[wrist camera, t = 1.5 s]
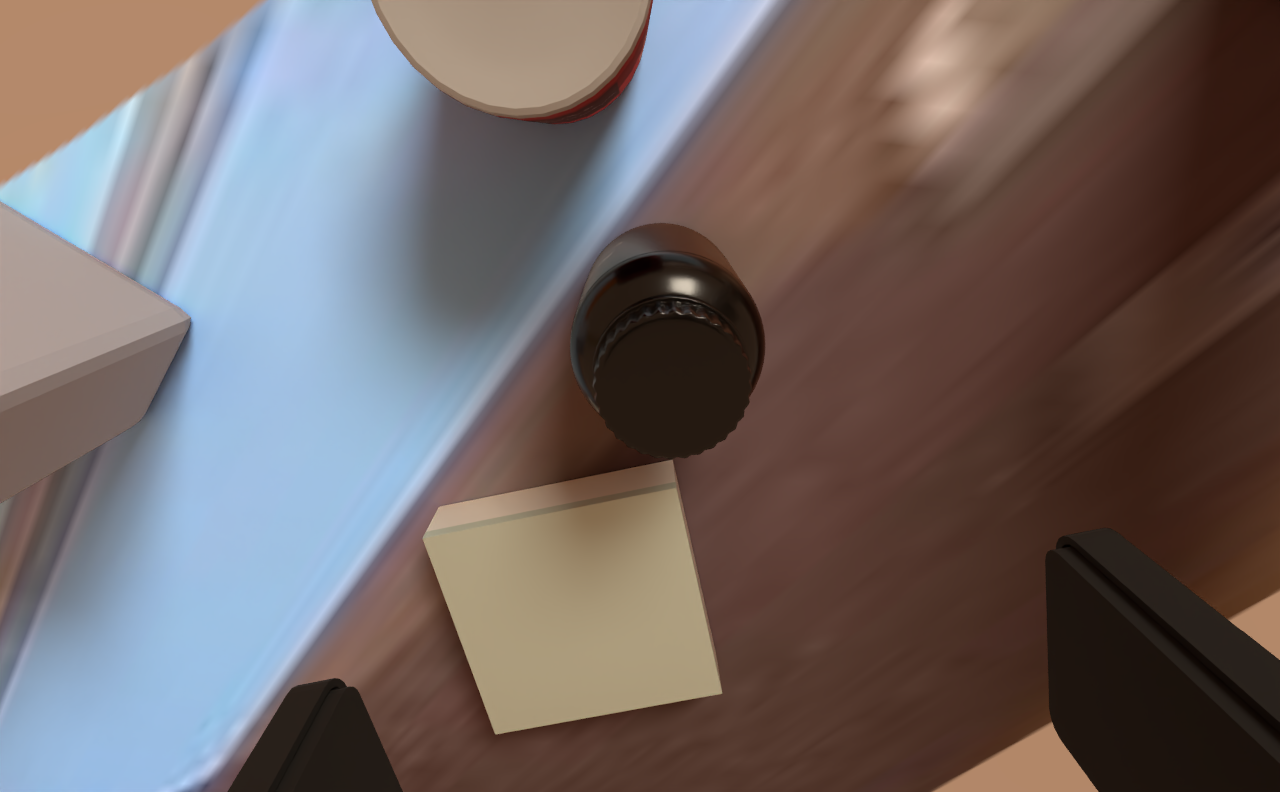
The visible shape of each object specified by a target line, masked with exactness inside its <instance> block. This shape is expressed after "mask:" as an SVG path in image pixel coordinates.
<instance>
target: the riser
mask: <svg viewBox="0 0 1280 792" xmlns="http://www.w3.org/2000/svg"><path fill="white" fill-rule="evenodd" d="M423 541H424V544H425V546H426V549H427V552H428V554H429V557H430V560H431V563H432V565H433V568H434V571H435V573H436V576H437V579H438V581H439V584H440V587H441V589H442V592H443V595H444V598H445V600H446V603H447V606H448V608H449V611H450V614H451V616H452V619H453V622H454V625H455V627H456V630H457V633H458V635H459V638H460V641H461V643H462V646H463V649H464V651H465V654H466V657H467V660H468V662H469V665H470V668H471V670H472V673H473V676H474V678H475V681H476V684H477V686H478V689H479V692H480V695H481V697H482V700H483V703H484V705H485V708H486V711H487V713H488V716H489V719H490V722H491V724H492V727H493V730H494V732H495V734H501V733H506V732H512V731H518V730H523V729H529V728H534V727H540V726H545V725H551V724H556V723H562V722H567V721H573V720H578V719H584V718H590V717H595V716H601V715H606V714H612V713H617V712H623V711H628V710H634V709H639V708H645V707H650V706H656V705H661V704H667V703H673V702H678V701H684V700H689V699H695V698H700V697H706V696H711V695H717V694H722V688H721V682H720V676H719V670H718V664H717V658H716V652H715V648H714V643H713V639H712V634H711V630H710V625H709V621H708V616H707V612H706V607H705V603H704V598H703V594H702V589H701V585H700V580H699V576H698V571H697V567H696V562H695V558H694V553H693V549H692V544H691V540H690V535H689V531H688V526H687V522H686V517H685V513H684V508H683V504H682V499H681V495H680V490H679V486H678V481H677V477H676V472H675V468H674V463H673V460H668V461H663V462H658V463H653V464H648V465H643V466H638V467H633V468H629V469H624V470H619V471H614V472H609V473H604V474H599V475H594V476H589V477H584V478H579V479H574V480H569V481H564V482H559V483H554V484H549V485H544V486H540V487H535V488H530V489H525V490H520V491H515V492H510V493H505V494H500V495H495V496H490V497H485V498H480V499H475V500H470V501H465V502H460V503H455V504H451V505H446V506H441V507H439V508H438V510H437V512H436V514H435V515H434V517H433V519H432V521H431V523H430V525H429V527H428V529H427V531H426V533H425V535H424V537H423Z"/></svg>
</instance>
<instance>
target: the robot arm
mask: <svg viewBox="0 0 1280 792" xmlns="http://www.w3.org/2000/svg"><path fill="white" fill-rule="evenodd" d="M1045 566H1046V603H1047V639H1048V675H1049V709H1050V715H1051V719H1052V722H1053V725H1054V728H1055V730H1056V732H1057V734H1058V736H1059V738H1060V739H1061V741H1062V742H1063V743H1064V745H1065V746H1066V748H1067V749H1068V750H1069V752H1070V753H1071V754H1072V756H1073V757H1074V759H1075V760H1076V761H1077V763H1078V764H1079V766H1080V767H1081V768H1082V770H1083V771H1084V772H1085V774H1086V775H1087V776H1088V778H1089V779H1090V781H1091V782H1092V783H1093V785H1094V786H1095V787H1096V789H1097V790H1098V791H1099V792H1280V660H1279V659H1278V658H1276V657H1275V656H1274V655H1272V654H1271V653H1270V652H1269V651H1267V650H1266V649H1265V648H1264V647H1262V646H1261V645H1260V644H1259V643H1257V642H1256V641H1255V640H1253V639H1252V638H1251V637H1250V636H1248V635H1247V634H1246V633H1245V632H1243V631H1242V630H1240V629H1239V628H1237V627H1236V626H1235V625H1234V624H1232V623H1231V622H1230V621H1229V620H1227V619H1226V618H1225V617H1224V616H1222V615H1221V614H1220V613H1218V612H1217V611H1216V610H1215V609H1213V608H1212V607H1211V606H1210V605H1208V604H1207V603H1206V602H1205V601H1203V600H1202V599H1201V598H1199V597H1198V596H1197V595H1196V594H1194V593H1193V592H1192V591H1191V590H1189V589H1188V588H1187V587H1186V586H1184V585H1183V584H1182V583H1181V582H1179V581H1178V580H1177V579H1175V578H1174V577H1173V576H1172V575H1170V574H1169V573H1168V572H1167V571H1165V570H1164V569H1163V568H1162V567H1160V566H1159V565H1158V564H1156V563H1155V562H1154V561H1153V560H1151V559H1150V558H1149V557H1148V556H1146V555H1145V554H1144V553H1143V552H1141V551H1140V550H1139V549H1138V548H1136V547H1135V546H1134V545H1132V544H1131V543H1130V542H1129V541H1127V540H1126V539H1125V538H1124V537H1122V536H1121V535H1120V534H1119V533H1117V532H1116V531H1114V530H1112V529H1110V528H1102V529H1096V530H1091V531H1086V532H1081V533H1076V534H1071V535H1066V536H1062V537H1061V538H1059V539H1058V542H1057V544H1056V549H1055V550H1050V551H1048V552H1047V554H1046V560H1045ZM228 792H403V791H402V789H401V787H400V784H399V782H398V780H397V778H396V775H395V773H394V771H393V769H392V766H391V764H390V762H389V759H388V757H387V755H386V753H385V750H384V748H383V746H382V744H381V741H380V739H379V737H378V734H377V732H376V730H375V728H374V725H373V723H372V721H371V719H370V716H369V714H368V712H367V710H366V707H365V705H364V703H363V700H362V698H361V696H360V694H359V692H358V690H357V689H356V688H354V687H347V686H346V685H345V683H344V682H343V681H342V680H340V679H336V678H334V679H328V680H323V681H318V682H313V683H308V684H303V685H298V686H296V687H294V688H292V689H291V690H290V691H289V693H288V694H287V695H286V697H285V699H284V700H283V702H282V703H281V705H280V707H279V708H278V710H277V712H276V713H275V715H274V717H273V718H272V720H271V721H270V723H269V725H268V726H267V728H266V730H265V731H264V733H263V735H262V736H261V738H260V739H259V741H258V743H257V744H256V746H255V748H254V749H253V751H252V753H251V754H250V756H249V757H248V759H247V761H246V762H245V764H244V766H243V767H242V769H241V771H240V772H239V774H238V775H237V777H236V779H235V780H234V782H233V784H232V785H231V787H230V789H229V790H228Z"/></svg>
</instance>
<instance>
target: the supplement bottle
mask: <svg viewBox="0 0 1280 792" xmlns="http://www.w3.org/2000/svg"><path fill="white" fill-rule="evenodd" d="M570 355H571V363H572V369H573V372H574V376H575V379H576V381H577V384H578V386H579V388H580V390H581V392H582V394H583V395H584V397H585V398H586V400H587V401H588V403H589V404H590V405H591V406H592V408H593V409H594V410H595V411H596V412H597V413H598V414H599V415H600V416H601V417H602V418H603V419H604V420H605V423H606V426H607V428H608V429H610V430H611V431H613V432H614V434H615V436H616V438H617V439H619V440H622V441H624V443H625V444H626V445H627V446H628V447H629V448H634V449H636V450H637V451H638V452H640V453H641V454H650V455H651V456H653V457H655V458H659V457H665V458H668V459H673V458H676V457H680V458H686V457H689V456H690V455H698V454H701V453H702V452H703V451H704V450H707V449H712V448H714V447H715V446H716V444H717V443H718V442H721V441H723V440H725V439H726V437H727V435H728V434H729V433H730V432H732V431H733V430H735V429H736V426H737V423H738V421H740V420H741V419H742V418H743V417H744V409H745V408H746V407H747V406H748V404H749V397H750V395H751V394H752V392H753V390H754V389H755V386H756V384H757V382H758V380H759V377H760V374H761V371H762V367H763V363H764V356H765V334H764V329H763V324H762V320H761V317H760V314H759V312H758V309H757V307H756V304H755V302H754V300H753V299H752V297H751V295H750V293H749V292H748V290H747V289H746V287H745V286H744V284H743V283H742V281H741V280H740V278H739V277H738V275H737V274H736V272H735V271H734V269H733V268H732V266H731V265H730V263H729V262H728V260H727V259H726V258H725V256H724V255H723V254H722V252H721V251H720V250H719V249H718V248H717V247H716V246H715V245H714V244H713V243H712V242H711V241H710V240H708V239H707V238H706V237H704V236H703V235H701V234H700V233H698V232H696V231H694V230H692V229H689V228H687V227H684V226H680V225H675V224H668V223H654V224H647V225H643V226H639V227H636V228H633V229H631V230H629V231H627V232H625V233H623V234H621V235H620V236H618V237H617V238H616V239H614V240H613V241H612V242H611V243H610V244H608V245H607V246H606V247H605V249H604V250H603V251H602V252H601V253H600V255H599V256H598V257H597V259H596V261H595V262H594V264H593V266H592V268H591V270H590V273H589V275H588V278H587V281H586V284H585V287H584V290H583V293H582V296H581V299H580V302H579V305H578V308H577V311H576V315H575V318H574V322H573V326H572V332H571V339H570Z"/></svg>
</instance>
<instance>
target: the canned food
mask: <svg viewBox="0 0 1280 792" xmlns="http://www.w3.org/2000/svg"><path fill="white" fill-rule="evenodd" d="M372 3H373V6H374V8H375V11H376V13H377V15H378V17H379V19H380V20H381V22H382V24H383V26H384V27H385V29H386V31H387V33H388V34H389V36H390V38H391V40H392V41H393V43H394V44H395V45H396V46H397V48H398V49H399V50H400V51H401V53H402V54H403V55H404V56H405V57H406V59H407V60H408V61H409V62H410V64H411V65H412V66H413V67H414V68H415V69H416V70H417V71H418V72H420V73H421V74H422V75H423V76H424V77H425V78H426V79H428V80H429V81H430V82H431V83H432V84H433V85H435V86H436V87H437V88H438V89H439V90H440V91H442V92H444V93H445V94H447V95H449V96H450V97H452V98H454V99H455V100H457V101H459V102H461V103H462V104H464V105H466V106H468V107H471V108H474V109H477V110H479V111H482V112H485V113H488V114H491V115H494V116H498V117H502V118H510V119H517V120H524V121H532V122H540V123H548V124H562V123H573V122H576V121H579V120H582V119H586V118H589V117H591V116H593V115H594V114H596V113H598V112H600V111H601V110H603V109H605V108H606V107H607V106H609V105H610V104H611V103H612V102H613V101H614V100H615V99H616V98H617V97H618V96H620V94H621V93H622V92H623V90H624V89H625V88H626V86H627V85H628V83H629V82H630V81H631V79H632V77H633V75H634V73H635V71H636V69H637V67H638V65H639V62H640V60H641V56H642V52H643V49H644V45H645V41H646V36H647V30H648V25H649V19H650V14H651V8H652V3H653V0H372Z"/></svg>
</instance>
